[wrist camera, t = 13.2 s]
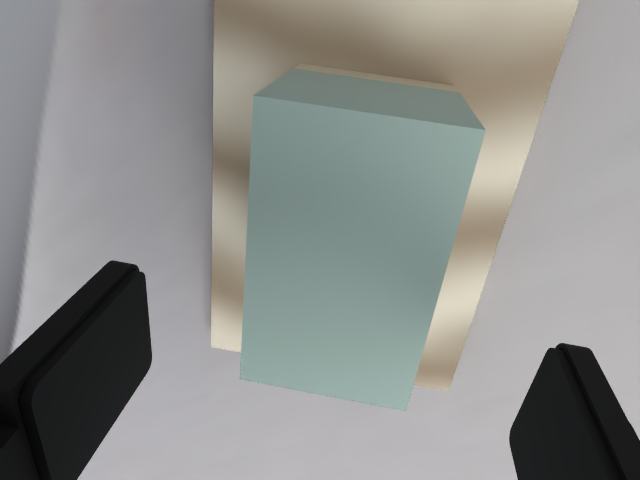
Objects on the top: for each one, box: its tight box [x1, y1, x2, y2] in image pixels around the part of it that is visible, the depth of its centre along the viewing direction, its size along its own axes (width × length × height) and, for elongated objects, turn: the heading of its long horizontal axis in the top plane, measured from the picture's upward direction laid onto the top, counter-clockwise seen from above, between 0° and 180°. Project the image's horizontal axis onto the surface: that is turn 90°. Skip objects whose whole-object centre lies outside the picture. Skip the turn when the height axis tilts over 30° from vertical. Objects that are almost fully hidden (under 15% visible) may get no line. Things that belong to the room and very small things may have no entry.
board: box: [211, 0, 579, 391], centre depth 21 cm, size 20×13×2 cm, turn 174°
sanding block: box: [240, 63, 486, 411], centre depth 17 cm, size 10×6×7 cm, turn 173°
